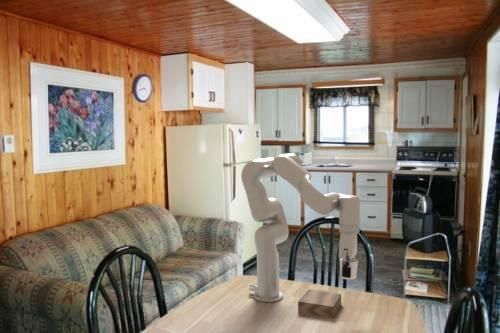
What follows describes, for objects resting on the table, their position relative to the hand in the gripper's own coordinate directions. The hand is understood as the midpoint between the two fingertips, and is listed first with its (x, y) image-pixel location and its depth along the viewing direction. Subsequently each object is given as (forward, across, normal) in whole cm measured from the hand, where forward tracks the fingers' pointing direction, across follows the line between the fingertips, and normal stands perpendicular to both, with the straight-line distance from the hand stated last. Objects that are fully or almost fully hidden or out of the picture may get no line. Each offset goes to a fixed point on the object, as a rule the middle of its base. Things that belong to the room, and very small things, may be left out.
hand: (348, 273), depth 171 cm
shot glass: (+2, 0, 0) cm, 2 cm away
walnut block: (+18, -4, -12) cm, 22 cm away
